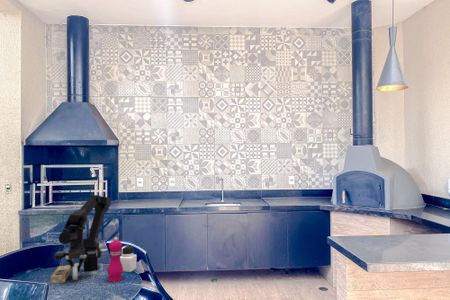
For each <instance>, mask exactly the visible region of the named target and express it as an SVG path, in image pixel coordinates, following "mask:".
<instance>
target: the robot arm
mask: <svg viewBox="0 0 450 300" xmlns="http://www.w3.org/2000/svg"><path fill="white" fill-rule="evenodd" d="M111 204H112V200H111V198H110V197H109V196H101V195H97V194H92V195H89V197H88V199H87V200H86V201H85V203H84V204H83V205H82V206H81V207H80V208H79V209H78V210H75V211H73V212H71V214H69V216H68V217H67V221H66V222H65V224H64V228H63V229H62V232H61V233H59V235H58V242H59V243H60V244H62V245H68V244H70V245H69V249H68V252H66V250H60V251H59V250H58V251H57V252H55V254H54V257H53V259H54V260H55V261H56V260H57V261H58V260H63V258H65V259H64V261H65V262H68V263H69V266H71V273H73V266H74V264H75V260H79V261H78V263H79V266H78V272H79V273H80V272H81V268H82V266H83V271H84V272H88V271H98V270H99V267H100V266H99V258H101V257H102V254H103V252H102V250H101V248H100V241H99V236H100V231H101V228H102V225H103V224H102V223H103V219H104V216H105V213H106V212H108V210H109V209H110V206H111ZM93 209H94V215H93V218H92V222H91V224H90V225H91V226H90V228H89V233H88V237H87V238H86V239H84V230H86V226H85V224H86V222H88V216H89V214H90V213H91V212H92V211H93ZM82 264H83V265H82Z"/></svg>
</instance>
